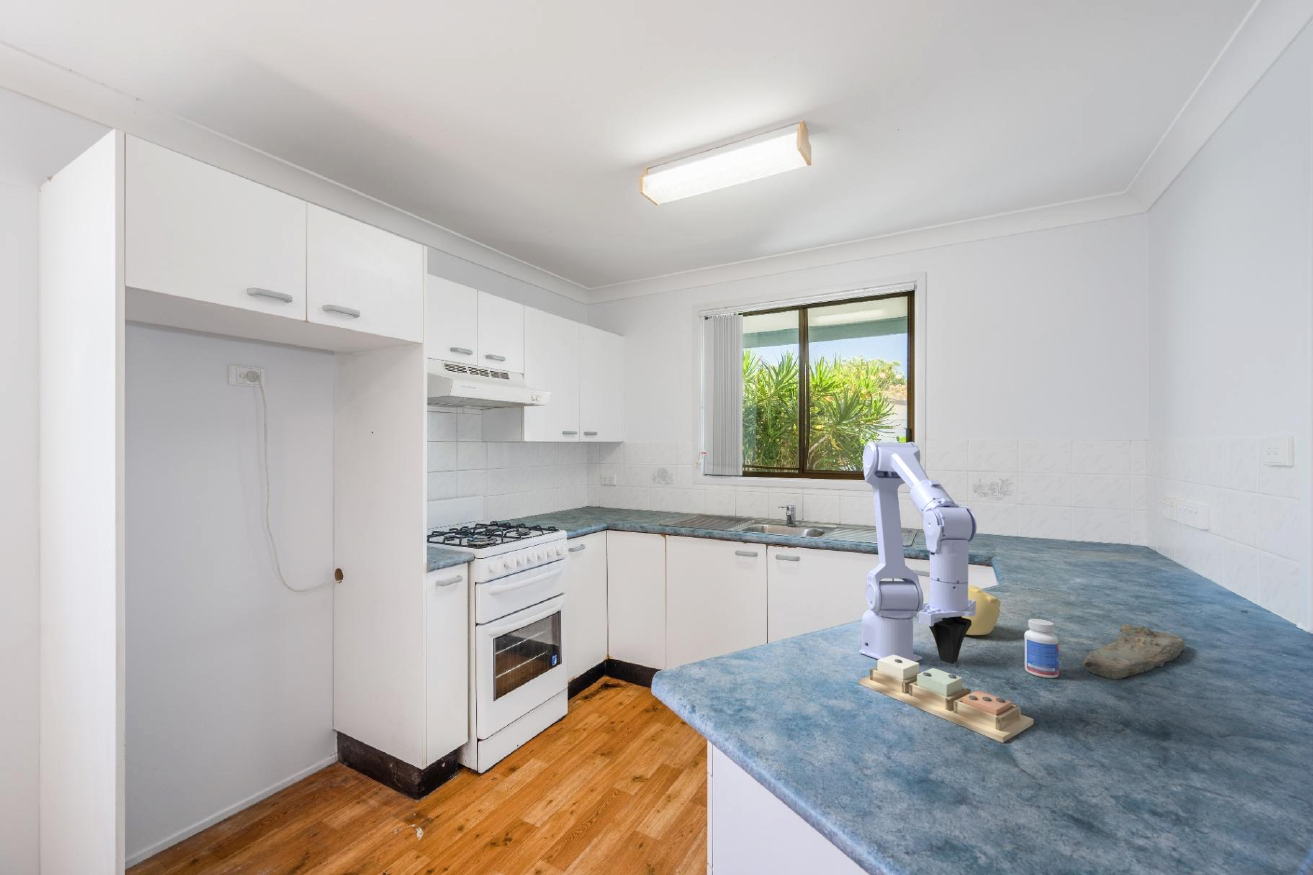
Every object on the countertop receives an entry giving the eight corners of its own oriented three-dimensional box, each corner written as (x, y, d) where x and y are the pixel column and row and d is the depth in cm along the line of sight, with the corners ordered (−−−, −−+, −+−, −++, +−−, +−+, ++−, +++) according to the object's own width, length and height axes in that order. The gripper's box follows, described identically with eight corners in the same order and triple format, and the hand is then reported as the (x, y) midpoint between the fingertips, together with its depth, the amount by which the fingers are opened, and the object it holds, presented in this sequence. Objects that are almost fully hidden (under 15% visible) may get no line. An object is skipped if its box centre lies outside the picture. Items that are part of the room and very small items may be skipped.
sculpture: (1007, 635, 128) (1007, 588, 128) (978, 643, 121) (978, 594, 122) (958, 621, 137) (958, 578, 138) (929, 629, 131) (929, 583, 132)
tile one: (877, 673, 99) (877, 658, 100) (893, 667, 102) (893, 653, 102) (903, 683, 95) (903, 668, 95) (919, 676, 98) (919, 662, 98)
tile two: (917, 688, 93) (917, 672, 93) (933, 681, 96) (933, 666, 96) (946, 699, 89) (946, 683, 89) (962, 692, 92) (962, 676, 92)
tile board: (859, 683, 100) (859, 669, 100) (891, 671, 105) (891, 657, 105) (1002, 742, 80) (1002, 724, 80) (1033, 724, 86) (1033, 707, 86)
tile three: (962, 712, 87) (962, 696, 87) (978, 704, 90) (978, 688, 90) (996, 726, 83) (996, 708, 83) (1011, 717, 86) (1011, 700, 86)
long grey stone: (1066, 674, 109) (1129, 697, 100) (1067, 648, 109) (1131, 668, 100) (1138, 636, 127) (1197, 652, 119) (1139, 613, 127) (1198, 628, 118)
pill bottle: (1064, 680, 102) (1064, 627, 103) (1032, 677, 103) (1032, 625, 104) (1050, 668, 108) (1049, 618, 108) (1019, 666, 109) (1019, 616, 109)
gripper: (950, 590, 84) (950, 680, 84) (994, 578, 93) (994, 659, 93) (906, 581, 90) (906, 664, 90) (952, 570, 99) (952, 647, 98)
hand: (948, 661), depth 92 cm, fingers closed
